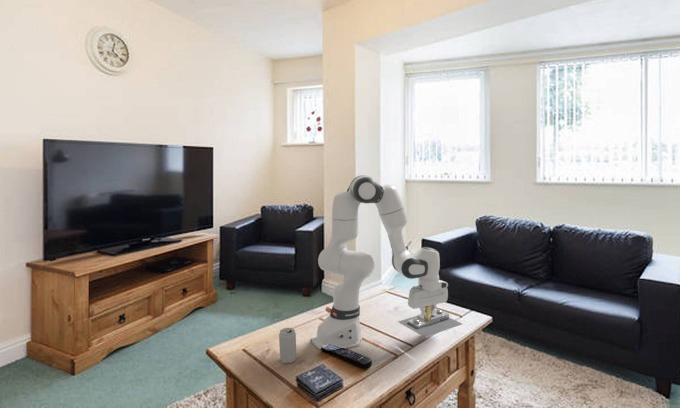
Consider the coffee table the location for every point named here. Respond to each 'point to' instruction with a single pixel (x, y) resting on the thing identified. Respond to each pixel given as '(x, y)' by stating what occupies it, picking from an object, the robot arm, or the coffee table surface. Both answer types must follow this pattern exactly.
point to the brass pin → (428, 313)
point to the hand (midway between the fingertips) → (427, 314)
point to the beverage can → (287, 345)
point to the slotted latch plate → (436, 317)
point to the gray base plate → (431, 326)
